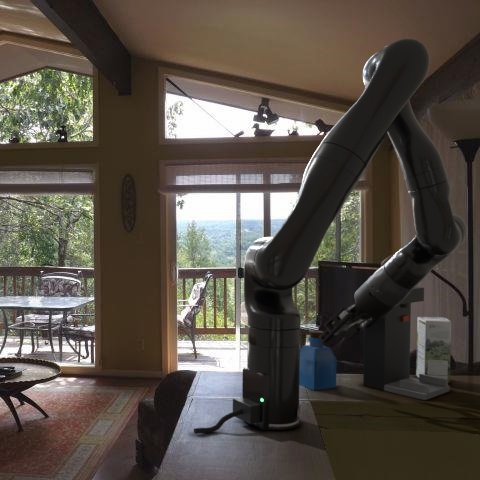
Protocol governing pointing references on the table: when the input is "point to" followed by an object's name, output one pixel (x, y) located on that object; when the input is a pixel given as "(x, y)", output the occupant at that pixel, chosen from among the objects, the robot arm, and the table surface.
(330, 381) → the perfume bottle
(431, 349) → the syrup box
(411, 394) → the coffee maker
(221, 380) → the table surface
